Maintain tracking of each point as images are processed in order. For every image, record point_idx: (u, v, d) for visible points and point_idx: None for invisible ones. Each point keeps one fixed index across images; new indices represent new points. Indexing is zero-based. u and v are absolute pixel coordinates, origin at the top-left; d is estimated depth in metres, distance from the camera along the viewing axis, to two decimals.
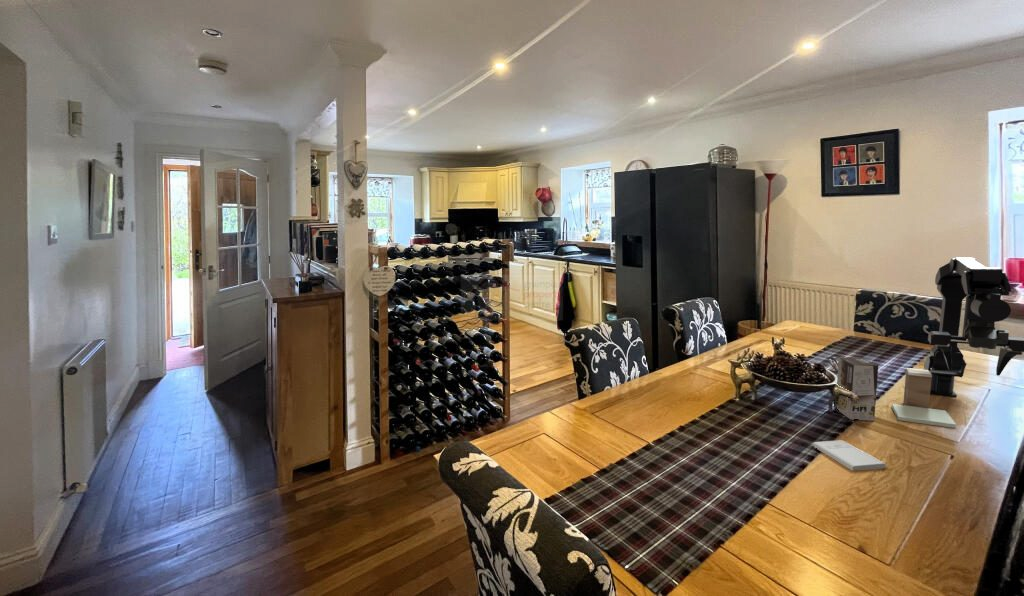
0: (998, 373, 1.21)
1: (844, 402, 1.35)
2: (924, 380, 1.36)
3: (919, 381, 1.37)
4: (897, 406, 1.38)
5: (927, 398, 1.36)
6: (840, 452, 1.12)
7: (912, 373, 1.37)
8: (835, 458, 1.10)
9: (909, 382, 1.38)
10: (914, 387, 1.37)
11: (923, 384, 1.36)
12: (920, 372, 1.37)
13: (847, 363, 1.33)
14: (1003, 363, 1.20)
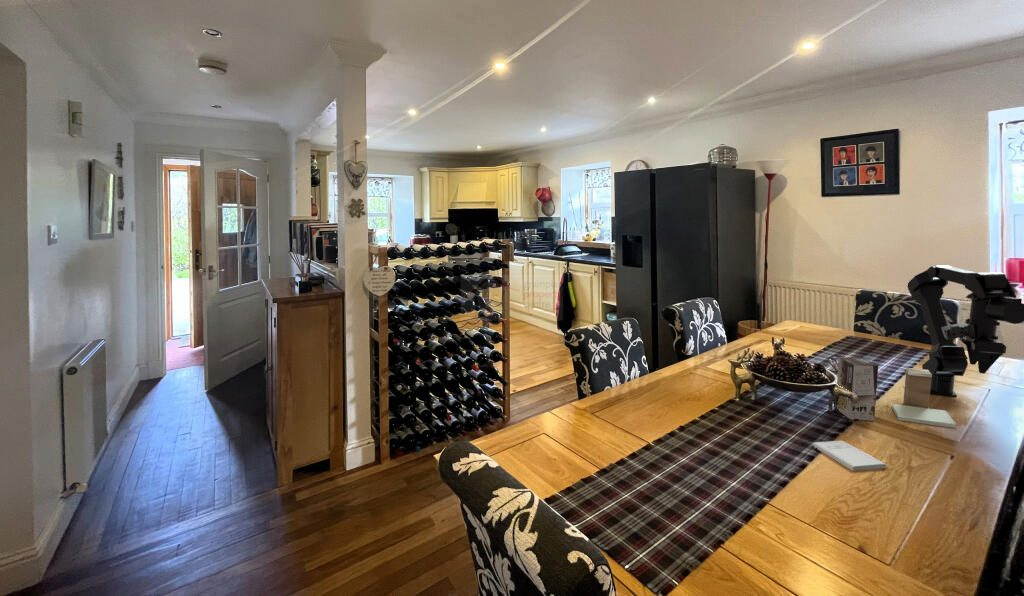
0: None
1: (844, 402, 1.35)
2: (924, 380, 1.36)
3: (919, 381, 1.37)
4: (897, 406, 1.38)
5: (927, 398, 1.36)
6: (840, 452, 1.12)
7: (912, 373, 1.37)
8: (835, 458, 1.10)
9: (909, 382, 1.38)
10: (914, 387, 1.37)
11: (923, 384, 1.36)
12: (920, 372, 1.37)
13: (847, 363, 1.33)
14: (978, 361, 1.32)
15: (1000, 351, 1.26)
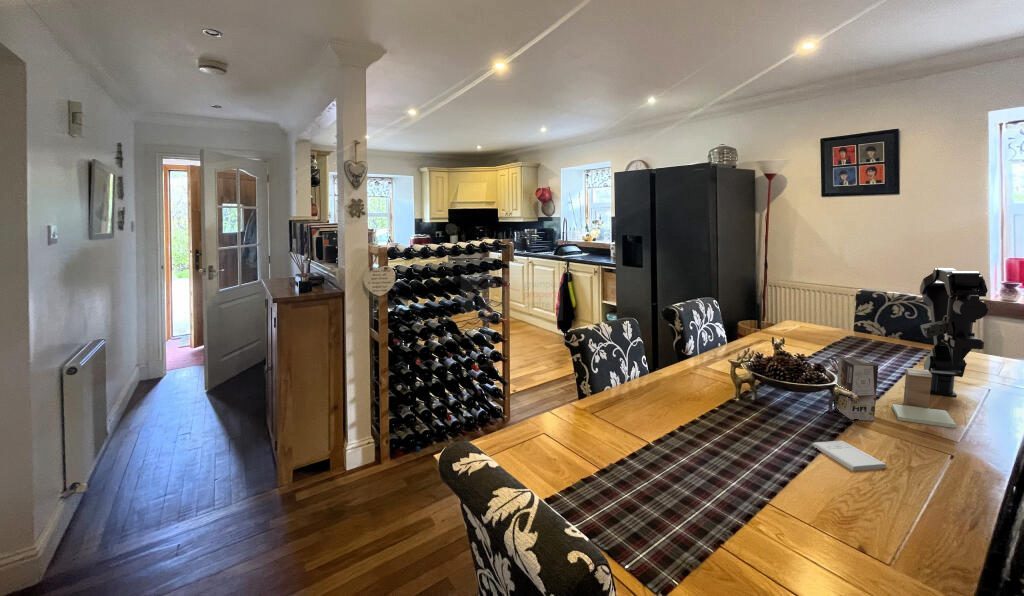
0: None
1: (844, 402, 1.35)
2: (924, 380, 1.36)
3: (919, 381, 1.37)
4: (897, 406, 1.38)
5: (927, 398, 1.36)
6: (840, 452, 1.12)
7: (912, 373, 1.37)
8: (835, 458, 1.10)
9: (909, 382, 1.38)
10: (914, 387, 1.37)
11: (923, 384, 1.36)
12: (920, 372, 1.37)
13: (847, 363, 1.33)
14: (952, 354, 1.39)
15: (978, 347, 1.29)
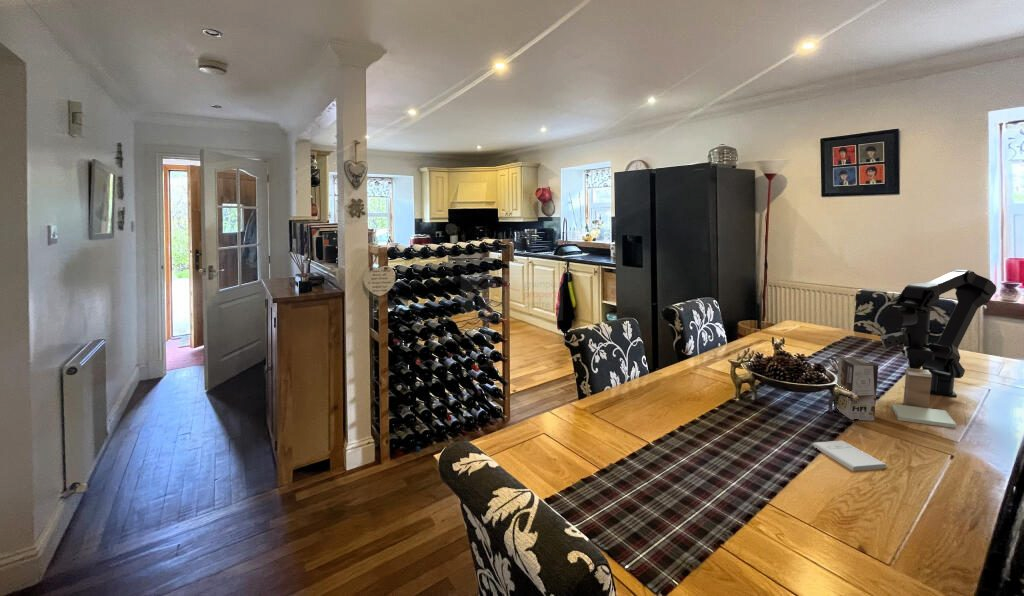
0: None
1: (844, 402, 1.35)
2: (924, 380, 1.36)
3: (919, 381, 1.37)
4: (897, 406, 1.38)
5: (927, 398, 1.36)
6: (840, 452, 1.12)
7: (912, 373, 1.37)
8: (835, 458, 1.10)
9: (909, 382, 1.38)
10: (914, 387, 1.37)
11: (923, 384, 1.36)
12: (920, 372, 1.37)
13: (847, 363, 1.33)
14: (909, 364, 1.45)
15: (929, 358, 1.36)
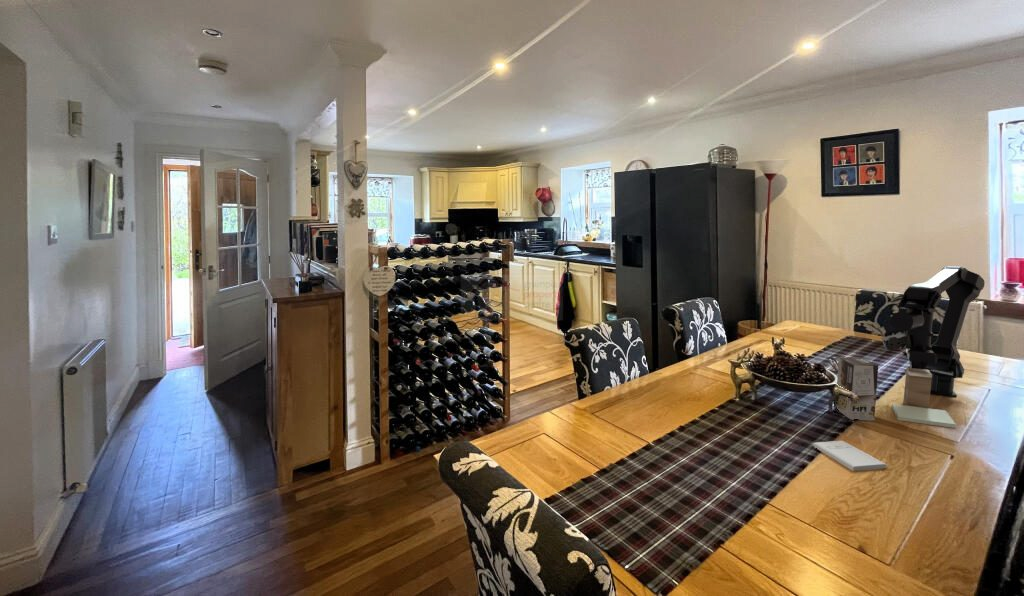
0: None
1: (844, 402, 1.35)
2: (924, 380, 1.36)
3: (919, 381, 1.36)
4: (897, 406, 1.38)
5: (927, 398, 1.36)
6: (840, 452, 1.12)
7: (912, 373, 1.37)
8: (835, 458, 1.10)
9: (909, 382, 1.38)
10: (914, 387, 1.37)
11: (923, 384, 1.36)
12: (920, 372, 1.37)
13: (847, 363, 1.33)
14: (911, 366, 1.42)
15: (932, 361, 1.32)
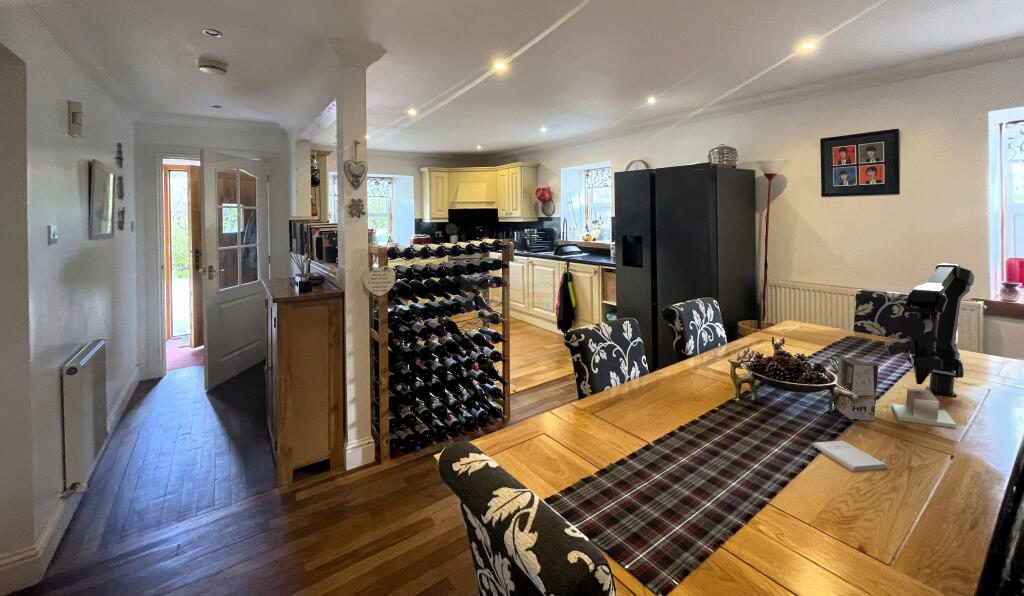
0: None
1: (844, 402, 1.35)
2: None
3: None
4: (897, 406, 1.38)
5: None
6: (840, 452, 1.12)
7: (916, 416, 1.30)
8: (836, 459, 1.10)
9: None
10: None
11: None
12: (926, 414, 1.29)
13: (847, 363, 1.33)
14: (915, 372, 1.37)
15: (937, 367, 1.27)
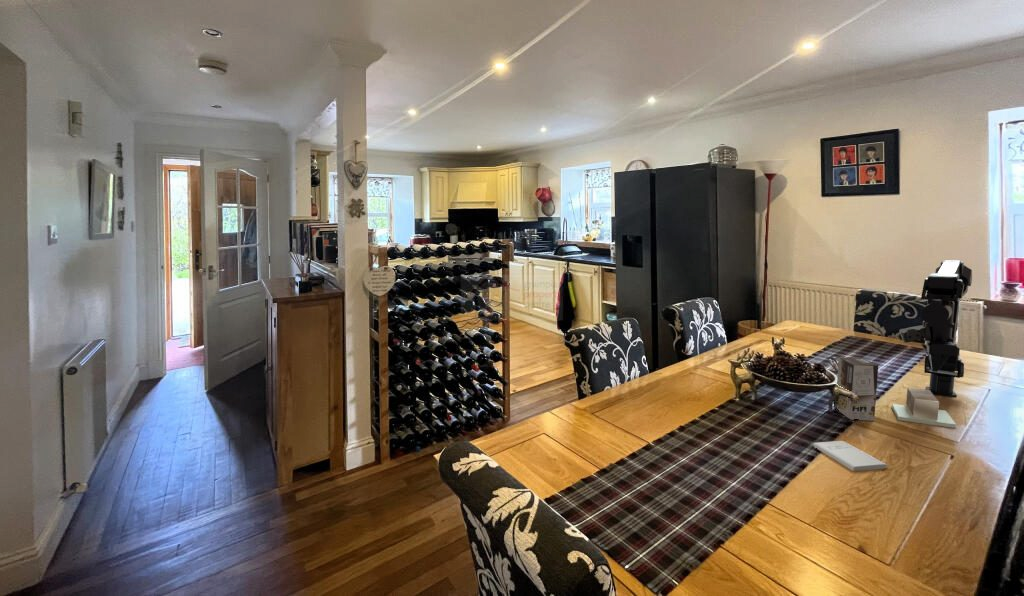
0: None
1: (844, 402, 1.35)
2: None
3: None
4: (897, 406, 1.38)
5: None
6: (840, 452, 1.11)
7: (916, 416, 1.30)
8: (836, 459, 1.10)
9: None
10: None
11: None
12: (926, 414, 1.29)
13: (847, 363, 1.33)
14: (930, 359, 1.35)
15: (954, 353, 1.26)
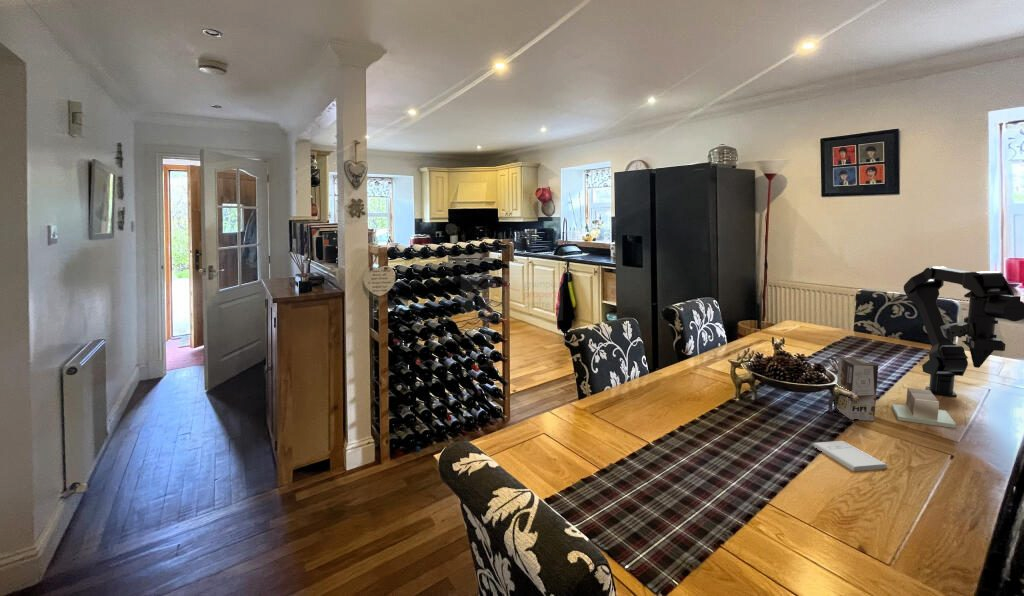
0: None
1: (844, 402, 1.35)
2: None
3: None
4: (897, 406, 1.38)
5: None
6: (840, 452, 1.11)
7: (916, 416, 1.30)
8: (836, 459, 1.10)
9: None
10: None
11: None
12: (926, 414, 1.29)
13: (847, 363, 1.33)
14: (972, 355, 1.36)
15: (999, 349, 1.27)
